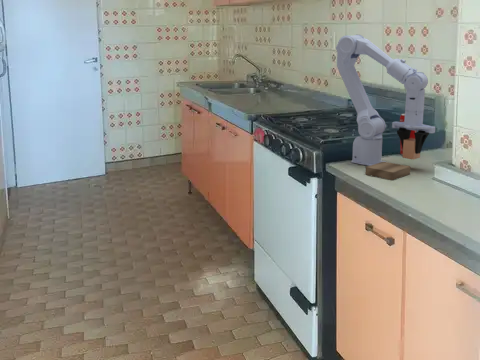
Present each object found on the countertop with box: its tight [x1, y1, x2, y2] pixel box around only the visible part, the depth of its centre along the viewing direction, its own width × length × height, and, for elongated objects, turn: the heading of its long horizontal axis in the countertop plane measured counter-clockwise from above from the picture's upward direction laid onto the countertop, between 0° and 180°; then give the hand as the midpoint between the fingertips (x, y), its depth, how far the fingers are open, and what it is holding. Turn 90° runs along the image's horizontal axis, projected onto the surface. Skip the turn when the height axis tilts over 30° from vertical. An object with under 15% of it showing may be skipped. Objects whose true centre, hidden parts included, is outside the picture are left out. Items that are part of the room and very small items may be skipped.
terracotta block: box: [402, 138, 421, 161], centre depth 187 cm, size 4×4×6 cm
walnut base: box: [364, 161, 411, 181], centre depth 182 cm, size 10×10×2 cm
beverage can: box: [399, 112, 418, 156], centre depth 206 cm, size 6×6×15 cm
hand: (411, 152), depth 188 cm, fingers closed on terracotta block, 4 cm apart
